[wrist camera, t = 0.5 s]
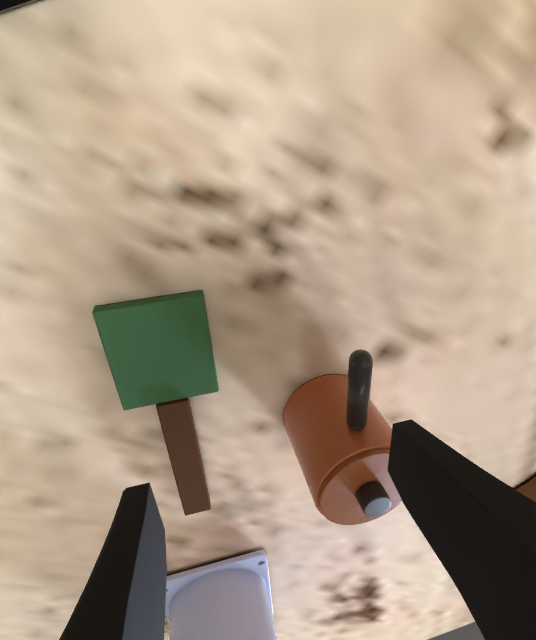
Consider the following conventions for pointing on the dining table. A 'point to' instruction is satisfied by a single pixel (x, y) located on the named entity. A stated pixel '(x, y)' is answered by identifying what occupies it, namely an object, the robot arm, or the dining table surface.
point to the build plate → (14, 4)
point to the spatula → (164, 374)
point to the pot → (343, 444)
